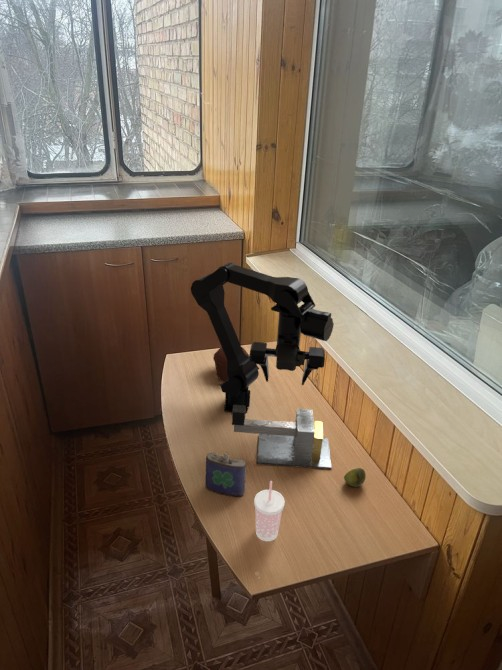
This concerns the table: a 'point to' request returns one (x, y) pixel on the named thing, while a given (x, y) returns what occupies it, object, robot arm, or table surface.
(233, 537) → the table surface
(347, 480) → the lime
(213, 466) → the flask
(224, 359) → the muffin
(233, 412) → the shaft
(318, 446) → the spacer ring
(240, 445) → the table surface
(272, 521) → the beverage cup
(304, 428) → the block
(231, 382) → the robot arm
